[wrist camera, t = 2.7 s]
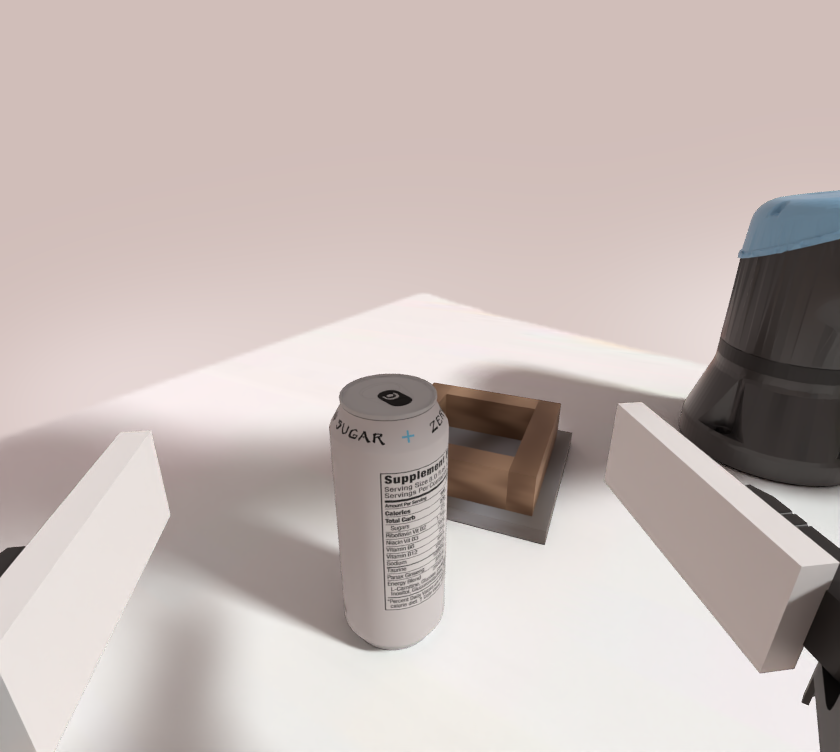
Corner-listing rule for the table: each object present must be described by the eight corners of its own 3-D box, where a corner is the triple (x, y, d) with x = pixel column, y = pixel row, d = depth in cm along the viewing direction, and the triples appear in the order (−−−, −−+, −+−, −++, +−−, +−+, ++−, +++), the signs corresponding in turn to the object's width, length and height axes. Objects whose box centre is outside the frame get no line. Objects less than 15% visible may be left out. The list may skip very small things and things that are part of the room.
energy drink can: (401, 562, 35) (397, 360, 29) (464, 618, 31) (475, 395, 25) (326, 610, 31) (303, 390, 25) (385, 680, 27) (375, 437, 21)
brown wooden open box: (570, 443, 49) (576, 400, 47) (544, 544, 36) (551, 490, 34) (426, 416, 54) (427, 376, 52) (360, 496, 42) (357, 447, 40)
